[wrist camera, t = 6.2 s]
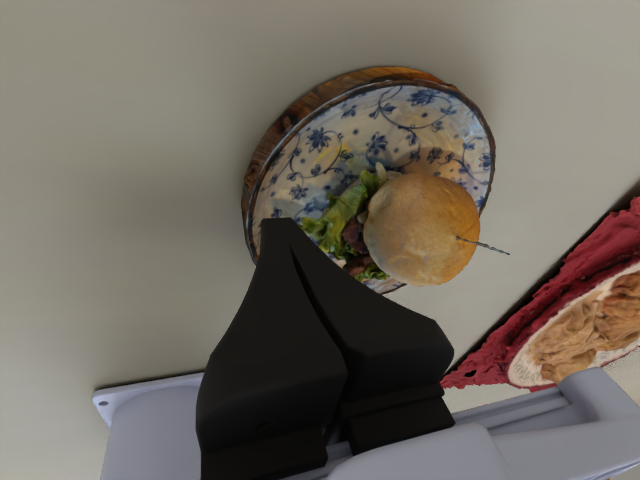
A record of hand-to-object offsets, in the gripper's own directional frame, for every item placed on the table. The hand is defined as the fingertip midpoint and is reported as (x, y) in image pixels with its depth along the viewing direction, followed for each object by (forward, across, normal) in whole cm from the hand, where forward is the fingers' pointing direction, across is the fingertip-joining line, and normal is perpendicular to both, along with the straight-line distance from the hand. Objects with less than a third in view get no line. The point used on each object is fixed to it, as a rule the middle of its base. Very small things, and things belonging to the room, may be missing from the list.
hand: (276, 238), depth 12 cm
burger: (+3, -5, 0) cm, 6 cm away
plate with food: (+3, -33, +14) cm, 36 cm away
